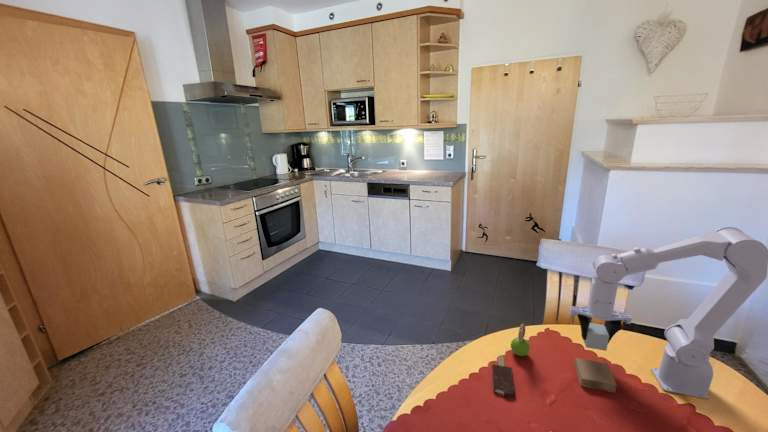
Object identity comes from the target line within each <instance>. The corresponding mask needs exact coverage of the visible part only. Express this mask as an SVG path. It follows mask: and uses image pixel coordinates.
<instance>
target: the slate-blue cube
mask: <svg viewBox="0 0 768 432" xmlns="http://www.w3.org/2000/svg"><path fill="white" fill-rule="evenodd" d="M589 323H590V324H589V327H588V330H587V337H586V340H583V339H582V340H583V343H584V346H585V348H587V349H588V348H589V349H593V350H598V351H599V350H600V351H606V352H607V350H608V344H609V343H608V340H609V334H608V332H607V330H606V325H605V324H601V323H593V322H589Z"/></svg>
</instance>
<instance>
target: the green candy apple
mask: <svg viewBox="0 0 768 432" xmlns="http://www.w3.org/2000/svg"><path fill="white" fill-rule="evenodd" d="M525 334H526V325H525V323H521V324H520V326H519V329H518V335H517V337H515V338H513V339H512V340H511V342H510V349H511V351H512V352H513V354H514V355H516V356H519V357H525V356H527V355H528V354H529V353H530V350H531V346H530V343H529V341H528V340H527V339H525Z"/></svg>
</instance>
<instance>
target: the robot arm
mask: <svg viewBox="0 0 768 432" xmlns="http://www.w3.org/2000/svg"><path fill="white" fill-rule="evenodd" d="M698 256H704V257H706V258H711V259H714V260H717V261H721V262H722V261H724V262H725V265H726V266H727V268H728V272H726V273H725V275H724V276H723V278H722V279H721V280H719V282H718V283H717V284H716V285H715V286H714V288H713V289H712V290H711V291H710V292H709V293H708V295H707V296H706V297H705V298H704V300H703V301H701V303H700V304H699V305H698V306H697V308H696V309H695V310H694V311H693V312H692V314H690V316H689V317H688V318H680V319H678V321H677V322H676V323H674V324H671V325H669V326H667V327H666V329H665V330H664V338H666V340H667V344H666V346H665V347H664V351H663V354H662V358H661V362H660V365H659V368H655V367H651V369H650V370H651V372H652V374H653V375H654V376H655V377H654V378H656V380H657V382H658V383H659V385H660V387H661V389H662V390H663V391H665V392H669V393H675V394H681V395H685V396H690V397H697V398H702V399H707V400H708V399H709V397H710V396H709V395H708V393H709V390H710V387H711V384H712V382H713V378H714V370H713V366H712V364H711V362H710V358H711V357H710V355H711V353H712V351H713V350H714V349H715V334H717V332H718V331H719V330H720V329H721V328H723V326H724V325H725V324H726V323H727V321H728V320H729V319H730V318H731V317H732V316H733V315H734V314H735V313H736V312H737V311H738V310H739V308H740V307H741V306H742V305H743V304H744V303H745V302H747V300H748V299H749V298H750V296H751V295H753V293H755V291H756V290H757V289H758V288H759V287H760V286H761V285H762V284H763V282H764V281H766V279H767V278H768V248H767V246H766V245H765V244H764V243H763V242H761V241H759V240H757V239H755V238H753V237H751V236H749V235H748V234H746V233H745V232H743V231H742V230H741V229H739V228H737V227H734V226H723V227H720V228H717V229H710V230H706V231H704V232H703V233H701V234H699V235H697V236H693V237H690V238H687V239H683V240H681V241H677V242H674V243H670V244H668V245H663V246H661V247H658V248H655V249H651V248H648V247H641V248H640V247H639V246H635V247H632V250H628V251H626V252H625V251H623V252H620V253H612V254H611V255H608V254H604V255H603V254H602V255H600V256H598V257H597V258H595V260H594V261H592V266H593V269H594V270H595V271H594V273H593V278H592V282H591V286H590V287H591V288H590V294H589V300H588V305H581V306H580V305H579V306H578V305H577V306H572V305H569V311H568V312H569V316H572V317H574V316H577V318H578V322H579V325H580V326H579V327H580V330H581V333H580V334H581V337H582V338H581V339H582V340H586V337H587V330H588V327H589V324H590V323H591V322H590V321H589V318H591V319H592V318H593V319H595V320H599V321H602V322H605V321H606V322H605V323H606V324H605V328H606V330H607V332H608V334H609V340H608V344H609V343H610V341H611V340H612V338H613V337H614V336H615V335H616V333H618V332H619V331H621V330H622V329H623V324H622V322H624V323H625V324H628V325H631V324H632V319H633V317H632V316H631V315H630V313H625V312H620V311H618V310H614V308H615V307H614V306H615V302H616V299H617V292H618V287H619V286H618V285H619V282H620V281H622V280H623V278H625V277H627V276H631V275H635V274H639V273H644V272H648V271H652V270H655V269H656V268H657V267H658V265H659V264H660V263H665V262H671V261H676V260H677V261H678V260H681V259H687V258H693V257H698Z"/></svg>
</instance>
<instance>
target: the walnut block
mask: <svg viewBox="0 0 768 432" xmlns="http://www.w3.org/2000/svg"><path fill="white" fill-rule="evenodd" d="M574 369H575V372H576V375H577V379H578V382H579V385H580V387H583V388H588V389H589V388H590V389H594V390H599V391H604V392H609V393H614V394H615V393H616V389H617V383H616V382H617V381H616V380H615V378H614V375H613V373H612V371H611V369H610V365H609V363H607V362H602V361H596V360H589V359H584V358H580V357H575V358H574Z"/></svg>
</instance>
